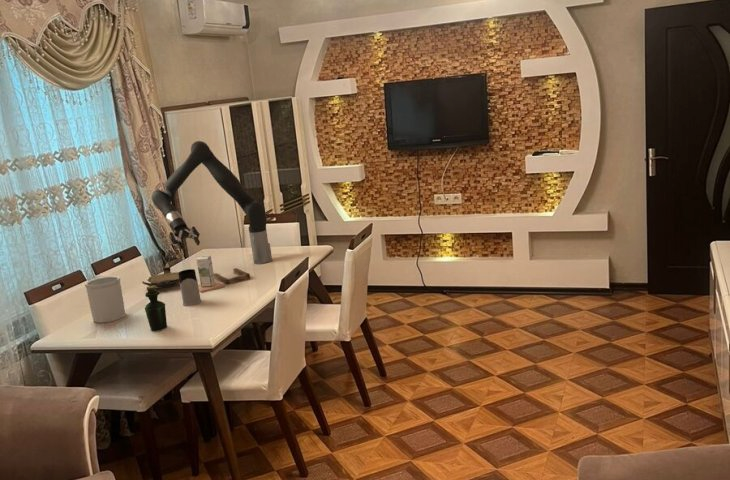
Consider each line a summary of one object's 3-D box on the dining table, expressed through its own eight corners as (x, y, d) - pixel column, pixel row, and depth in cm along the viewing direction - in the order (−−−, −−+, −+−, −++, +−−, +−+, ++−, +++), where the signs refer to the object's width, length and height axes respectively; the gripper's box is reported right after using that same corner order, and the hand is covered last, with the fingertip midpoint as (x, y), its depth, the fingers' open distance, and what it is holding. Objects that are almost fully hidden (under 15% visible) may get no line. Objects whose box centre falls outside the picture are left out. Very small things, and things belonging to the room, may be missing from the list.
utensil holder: (115, 310, 330) (108, 274, 326) (133, 314, 321) (126, 276, 317) (86, 321, 319) (78, 283, 315) (104, 325, 310) (96, 286, 306)
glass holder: (182, 307, 322) (176, 275, 319) (181, 299, 335) (176, 268, 332) (202, 303, 324) (196, 271, 321) (200, 295, 337) (195, 265, 334)
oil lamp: (135, 295, 353) (132, 280, 351) (162, 277, 382) (159, 263, 380) (177, 292, 349) (175, 277, 347) (201, 274, 377) (198, 260, 376)
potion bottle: (171, 323, 300) (163, 282, 296) (166, 330, 293) (158, 288, 289) (151, 326, 300) (143, 285, 296) (146, 332, 292) (138, 290, 288)
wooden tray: (236, 272, 372) (235, 268, 371) (250, 278, 357) (249, 274, 356) (213, 278, 366) (212, 273, 365) (226, 285, 351) (225, 280, 350)
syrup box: (215, 283, 353) (211, 254, 349) (212, 286, 347) (207, 257, 344) (204, 284, 353) (199, 255, 350) (200, 287, 347) (195, 258, 344)
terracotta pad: (216, 282, 358) (215, 280, 358) (224, 286, 348) (224, 284, 348) (193, 288, 352) (192, 286, 352) (201, 292, 342) (200, 290, 342)
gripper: (164, 220, 353) (179, 245, 347) (190, 214, 362) (205, 238, 356) (161, 230, 358) (176, 254, 352) (187, 223, 367) (202, 247, 361)
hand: (191, 246), depth 354 cm, fingers open, 8 cm apart
